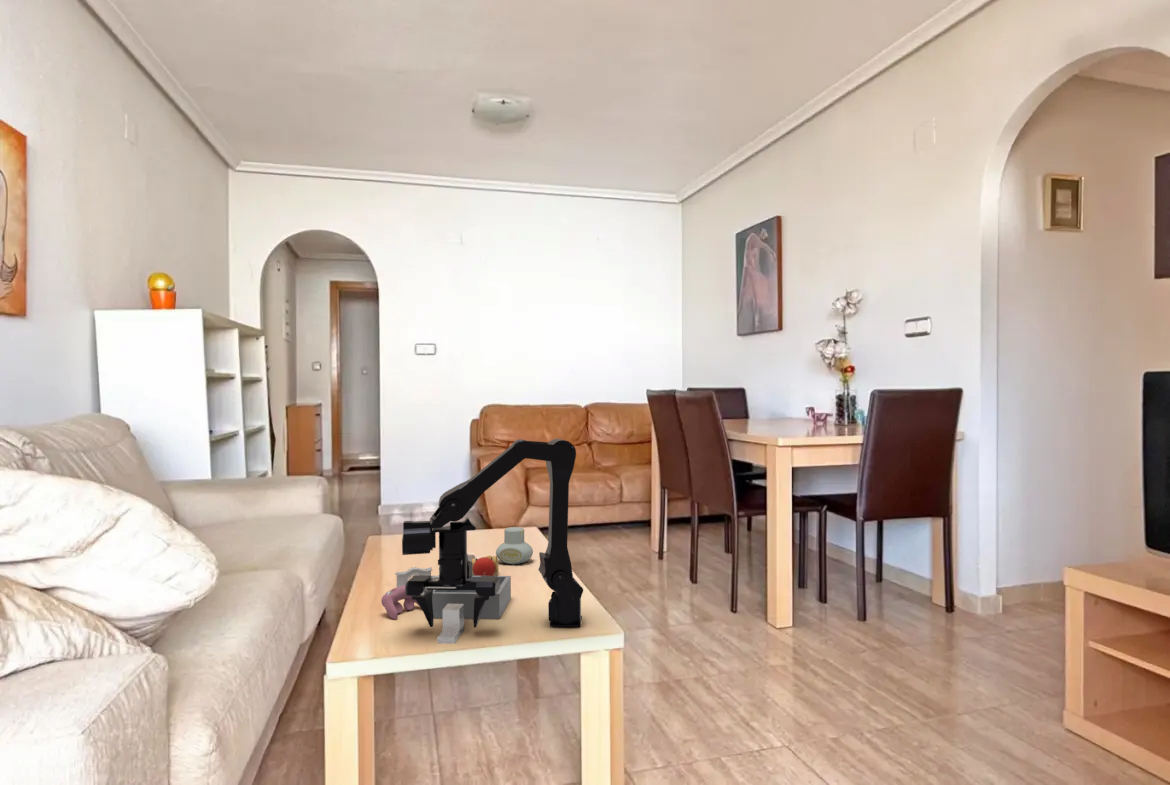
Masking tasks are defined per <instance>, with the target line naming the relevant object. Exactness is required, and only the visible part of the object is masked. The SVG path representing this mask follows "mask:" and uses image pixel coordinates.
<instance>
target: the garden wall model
mask: <svg viewBox="0 0 1170 785" xmlns="http://www.w3.org/2000/svg"><path fill="white" fill-rule="evenodd" d="M432 571H433V568H432V567H427V568H421V567H417V566H415V567H410V568H408V569H407V570H405V571H396V572H395V574H394V575H395V576H396V588H397V587H400V586H406V583H407V582H408V581H409V580H410V579H411V578H413V577H414V576H415V575H428V576H431V578H432V580H439V574H436V575H432Z"/></svg>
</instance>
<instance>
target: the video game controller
mask: <svg viewBox="0 0 1170 785" xmlns="http://www.w3.org/2000/svg"><path fill="white" fill-rule="evenodd" d="M403 600H404V602H403V603H401V602H399V601H403ZM380 603H381V605H382V607H383V609H385V611H386V614H388V616H389V617H390V618H391V619H392V620H397V619H398V616H399V614H400V613H402V611H403V610H405V611H408V610H409V611H411V610H413V609H414V607H415V604H416V605H418V606H419V604H418V602H417V601H416V600H413V599H412V596H407V595H405V586H400V587H397V586H396V587H394V588H392V589H390V590H388V591H387V592H385V594H384V595H382V596H381V601H380ZM409 611H408V612H409Z"/></svg>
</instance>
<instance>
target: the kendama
mask: <svg viewBox="0 0 1170 785" xmlns="http://www.w3.org/2000/svg"><path fill="white" fill-rule="evenodd" d="M471 562H472V563H473V566H472V576H495V573H499V569H500V568H499V559H498V558H497V556H496V555H487V556H483V557H479V558H477V557H476V558H475V557H473V558H471Z"/></svg>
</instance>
